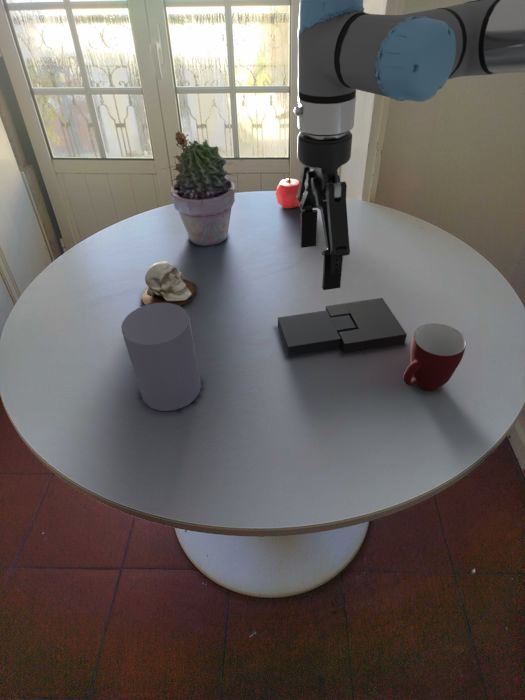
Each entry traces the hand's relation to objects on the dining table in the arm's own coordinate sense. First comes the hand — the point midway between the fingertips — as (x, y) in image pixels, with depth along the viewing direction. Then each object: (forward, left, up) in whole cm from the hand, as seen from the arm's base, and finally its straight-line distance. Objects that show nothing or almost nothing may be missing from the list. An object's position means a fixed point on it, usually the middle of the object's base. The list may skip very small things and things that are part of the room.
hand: (318, 265), depth 78 cm
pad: (+2, -1, -17) cm, 17 cm away
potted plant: (+47, +15, -17) cm, 52 cm away
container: (-6, +28, -17) cm, 33 cm away
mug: (-15, -15, -17) cm, 27 cm away
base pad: (+2, -10, -17) cm, 20 cm away
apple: (+60, -9, -17) cm, 63 cm away
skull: (+23, +27, -17) cm, 39 cm away
